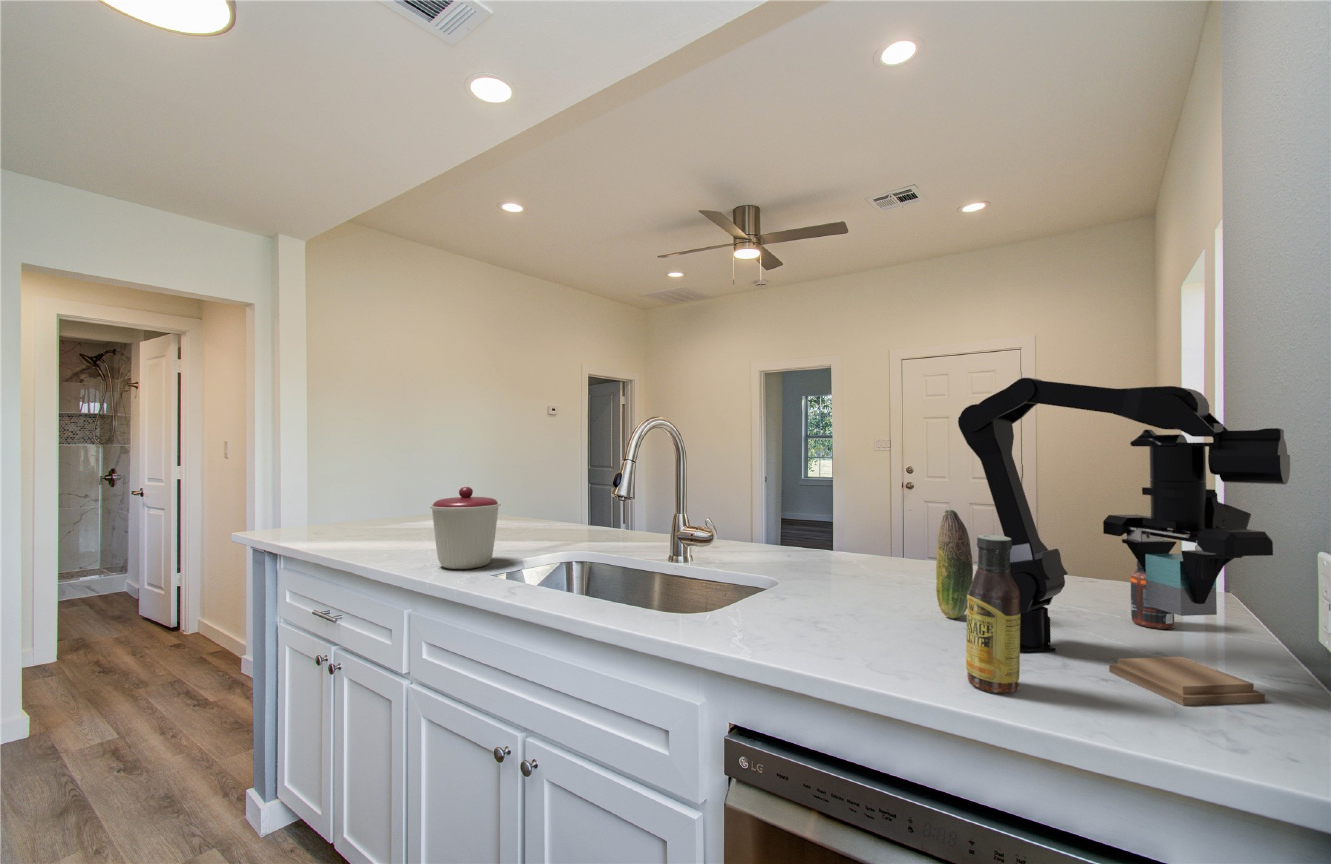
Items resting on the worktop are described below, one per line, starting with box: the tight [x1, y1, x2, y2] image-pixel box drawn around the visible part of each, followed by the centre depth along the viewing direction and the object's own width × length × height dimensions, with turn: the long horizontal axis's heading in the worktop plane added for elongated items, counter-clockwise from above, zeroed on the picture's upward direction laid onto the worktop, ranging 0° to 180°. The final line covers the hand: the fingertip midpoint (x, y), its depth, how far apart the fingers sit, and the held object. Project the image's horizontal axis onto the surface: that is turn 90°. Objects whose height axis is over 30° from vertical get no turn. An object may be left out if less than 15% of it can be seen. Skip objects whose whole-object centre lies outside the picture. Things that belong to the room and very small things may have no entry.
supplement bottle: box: [1129, 559, 1175, 630], centre depth 106 cm, size 6×6×11 cm
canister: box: [429, 486, 501, 570], centre depth 160 cm, size 18×18×21 cm
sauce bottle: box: [965, 534, 1021, 694], centre depth 79 cm, size 7×6×20 cm
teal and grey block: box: [1145, 552, 1218, 617], centre depth 80 cm, size 5×5×7 cm
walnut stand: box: [1108, 656, 1266, 706], centre depth 79 cm, size 11×11×2 cm
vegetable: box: [935, 509, 974, 619], centre depth 111 cm, size 6×6×20 cm
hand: (1179, 598), depth 80 cm, fingers closed on teal and grey block, 5 cm apart
